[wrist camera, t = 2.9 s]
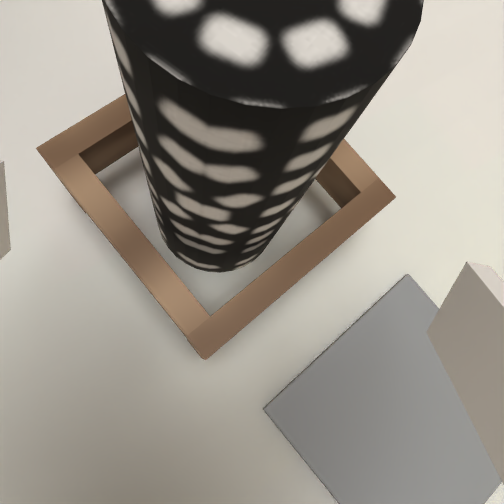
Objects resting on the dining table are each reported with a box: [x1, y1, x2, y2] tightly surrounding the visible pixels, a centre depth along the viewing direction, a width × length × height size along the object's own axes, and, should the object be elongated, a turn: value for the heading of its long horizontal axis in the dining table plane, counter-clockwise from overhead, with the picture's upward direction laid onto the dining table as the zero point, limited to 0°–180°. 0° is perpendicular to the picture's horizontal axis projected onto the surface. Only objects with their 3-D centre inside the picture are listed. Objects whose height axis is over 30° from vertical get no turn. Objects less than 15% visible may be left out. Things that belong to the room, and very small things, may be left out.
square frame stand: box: [36, 94, 396, 360], centre depth 26 cm, size 14×14×7 cm
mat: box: [263, 274, 502, 504], centre depth 28 cm, size 14×14×1 cm
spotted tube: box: [102, 0, 424, 272], centre depth 20 cm, size 8×8×20 cm
